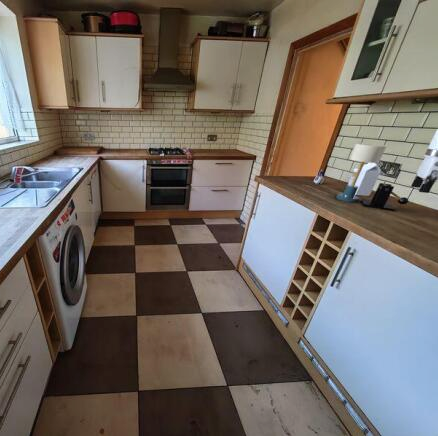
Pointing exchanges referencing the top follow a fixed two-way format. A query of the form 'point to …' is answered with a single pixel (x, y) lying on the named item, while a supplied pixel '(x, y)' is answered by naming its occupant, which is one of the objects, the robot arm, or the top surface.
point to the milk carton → (367, 179)
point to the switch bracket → (380, 198)
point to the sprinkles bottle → (353, 176)
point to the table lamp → (362, 154)
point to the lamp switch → (400, 200)
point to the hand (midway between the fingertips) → (419, 189)
